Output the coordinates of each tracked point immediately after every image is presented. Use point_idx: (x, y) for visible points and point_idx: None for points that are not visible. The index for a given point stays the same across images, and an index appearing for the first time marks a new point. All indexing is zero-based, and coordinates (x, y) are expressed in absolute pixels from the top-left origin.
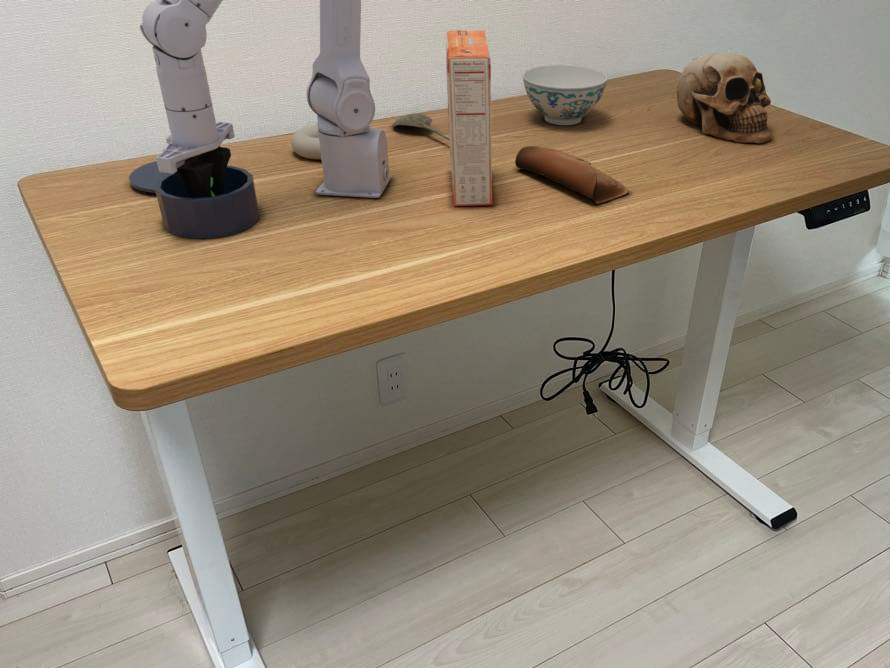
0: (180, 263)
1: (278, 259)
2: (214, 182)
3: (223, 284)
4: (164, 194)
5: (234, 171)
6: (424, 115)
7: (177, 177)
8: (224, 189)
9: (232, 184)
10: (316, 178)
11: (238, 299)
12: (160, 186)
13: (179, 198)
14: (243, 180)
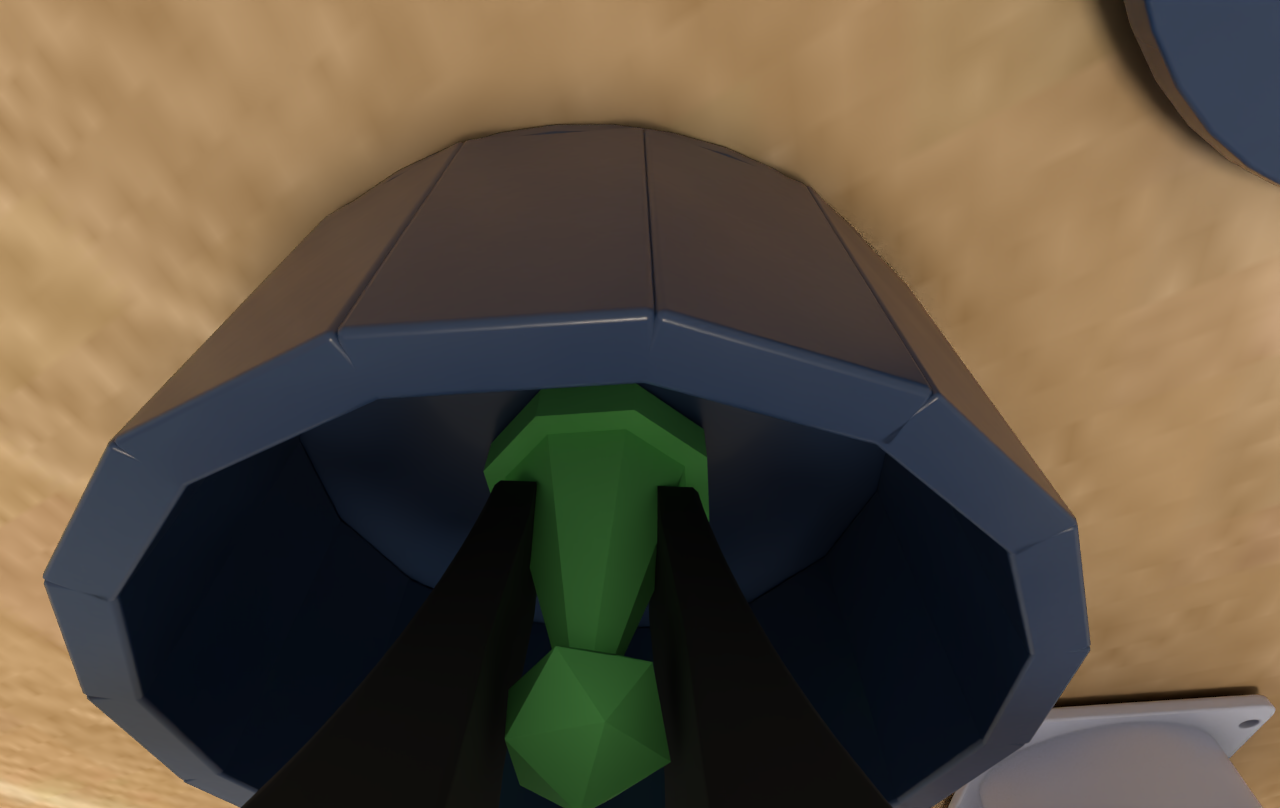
0: (20, 541)
1: None
2: (669, 711)
3: (46, 715)
4: (74, 604)
5: (937, 740)
6: None
7: (283, 768)
8: (920, 502)
9: (923, 591)
10: (1249, 652)
11: (15, 768)
12: (227, 463)
13: (125, 719)
14: (863, 724)
